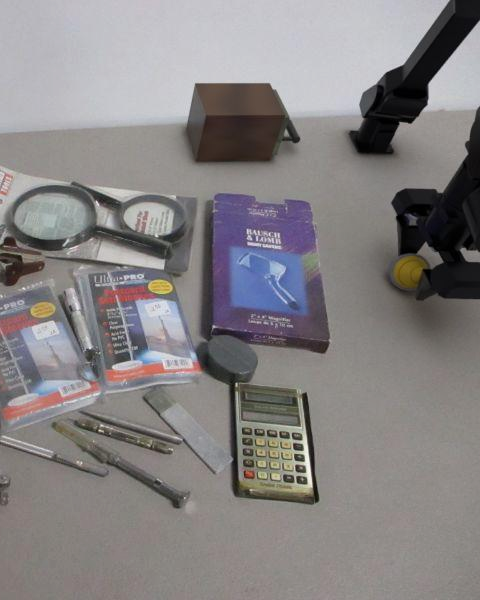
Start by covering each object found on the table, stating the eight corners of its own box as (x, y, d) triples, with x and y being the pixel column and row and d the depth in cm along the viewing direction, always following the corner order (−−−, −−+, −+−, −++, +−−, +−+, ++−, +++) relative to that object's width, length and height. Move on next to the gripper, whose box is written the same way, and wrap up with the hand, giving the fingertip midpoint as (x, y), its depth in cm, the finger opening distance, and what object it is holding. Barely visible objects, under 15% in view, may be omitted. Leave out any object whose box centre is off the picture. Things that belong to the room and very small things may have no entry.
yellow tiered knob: (425, 280, 89) (457, 285, 79) (390, 294, 90) (416, 300, 80) (412, 247, 88) (441, 248, 79) (376, 261, 89) (401, 264, 80)
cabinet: (256, 128, 112) (269, 82, 104) (269, 161, 105) (285, 114, 98) (185, 129, 111) (194, 82, 104) (195, 162, 104) (205, 115, 97)
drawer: (285, 126, 111) (298, 89, 105) (299, 155, 105) (313, 117, 99) (198, 127, 110) (207, 89, 104) (208, 155, 104) (217, 117, 98)
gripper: (570, 254, 68) (493, 335, 80) (497, 155, 80) (439, 238, 92) (475, 252, 68) (412, 333, 80) (416, 153, 80) (368, 237, 92)
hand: (410, 282), depth 86 cm, fingers closed on yellow tiered knob, 6 cm apart
